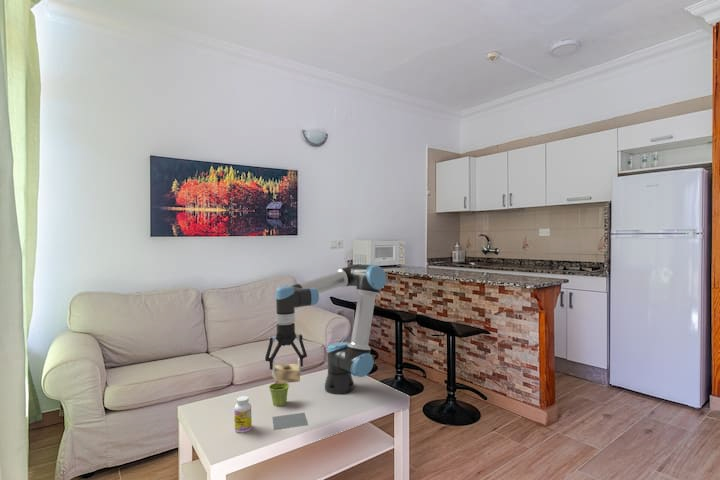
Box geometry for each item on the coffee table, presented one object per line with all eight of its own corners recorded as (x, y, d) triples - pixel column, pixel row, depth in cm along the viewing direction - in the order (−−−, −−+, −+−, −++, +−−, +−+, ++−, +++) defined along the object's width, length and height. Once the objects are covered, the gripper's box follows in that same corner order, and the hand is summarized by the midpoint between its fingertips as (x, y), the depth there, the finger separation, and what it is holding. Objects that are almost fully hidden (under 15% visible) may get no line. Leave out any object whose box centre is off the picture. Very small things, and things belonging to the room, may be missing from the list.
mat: (304, 413, 176) (304, 412, 176) (308, 425, 165) (308, 424, 165) (272, 417, 172) (272, 416, 172) (273, 430, 161) (273, 429, 161)
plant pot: (285, 409, 180) (284, 390, 180) (265, 407, 182) (265, 389, 182) (292, 400, 190) (292, 382, 189) (274, 399, 192) (273, 381, 191)
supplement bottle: (231, 431, 161) (230, 400, 160) (241, 424, 167) (241, 394, 167) (245, 434, 158) (244, 402, 158) (255, 426, 164) (254, 396, 164)
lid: (297, 373, 174) (296, 361, 174) (299, 381, 164) (299, 368, 164) (273, 375, 171) (273, 363, 171) (275, 384, 162) (275, 371, 162)
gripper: (258, 327, 161) (259, 381, 161) (313, 323, 167) (314, 375, 167) (257, 323, 168) (258, 375, 168) (310, 319, 174) (311, 369, 174)
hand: (286, 375), depth 168 cm, fingers closed on lid, 10 cm apart
